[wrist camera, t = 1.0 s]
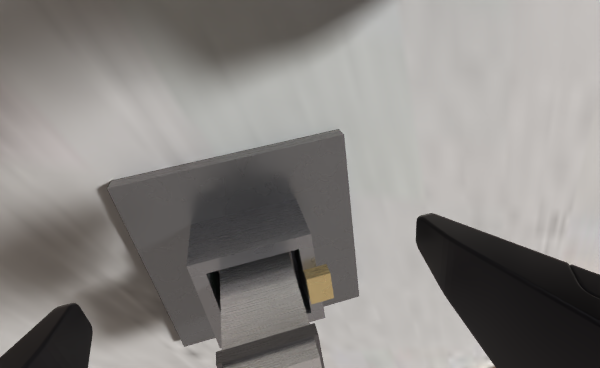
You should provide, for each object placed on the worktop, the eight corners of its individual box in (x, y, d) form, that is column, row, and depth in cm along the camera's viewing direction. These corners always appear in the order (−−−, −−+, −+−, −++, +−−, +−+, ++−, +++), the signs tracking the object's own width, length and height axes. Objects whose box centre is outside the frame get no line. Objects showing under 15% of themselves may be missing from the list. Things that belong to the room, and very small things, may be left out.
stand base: (338, 129, 22) (375, 166, 17) (354, 287, 29) (384, 347, 24) (111, 180, 20) (78, 239, 15) (185, 335, 27) (179, 411, 22)
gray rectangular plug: (281, 219, 23) (323, 352, 14) (292, 269, 25) (334, 411, 16) (214, 236, 22) (216, 385, 14) (231, 285, 24) (242, 441, 16)
